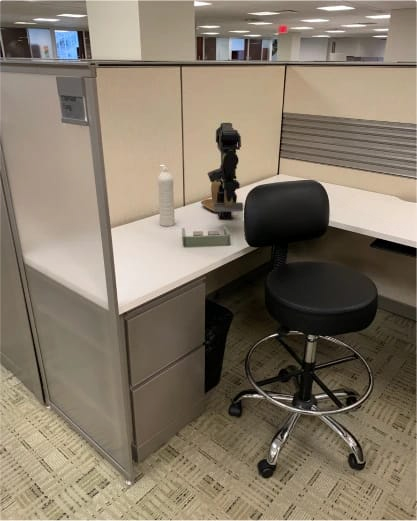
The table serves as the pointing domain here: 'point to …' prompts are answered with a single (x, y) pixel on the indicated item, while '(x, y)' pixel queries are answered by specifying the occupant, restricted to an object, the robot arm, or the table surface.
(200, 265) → the table surface
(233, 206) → the hoe
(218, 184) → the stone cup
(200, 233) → the stone block
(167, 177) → the white pump bottle
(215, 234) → the stone block
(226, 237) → the bin
